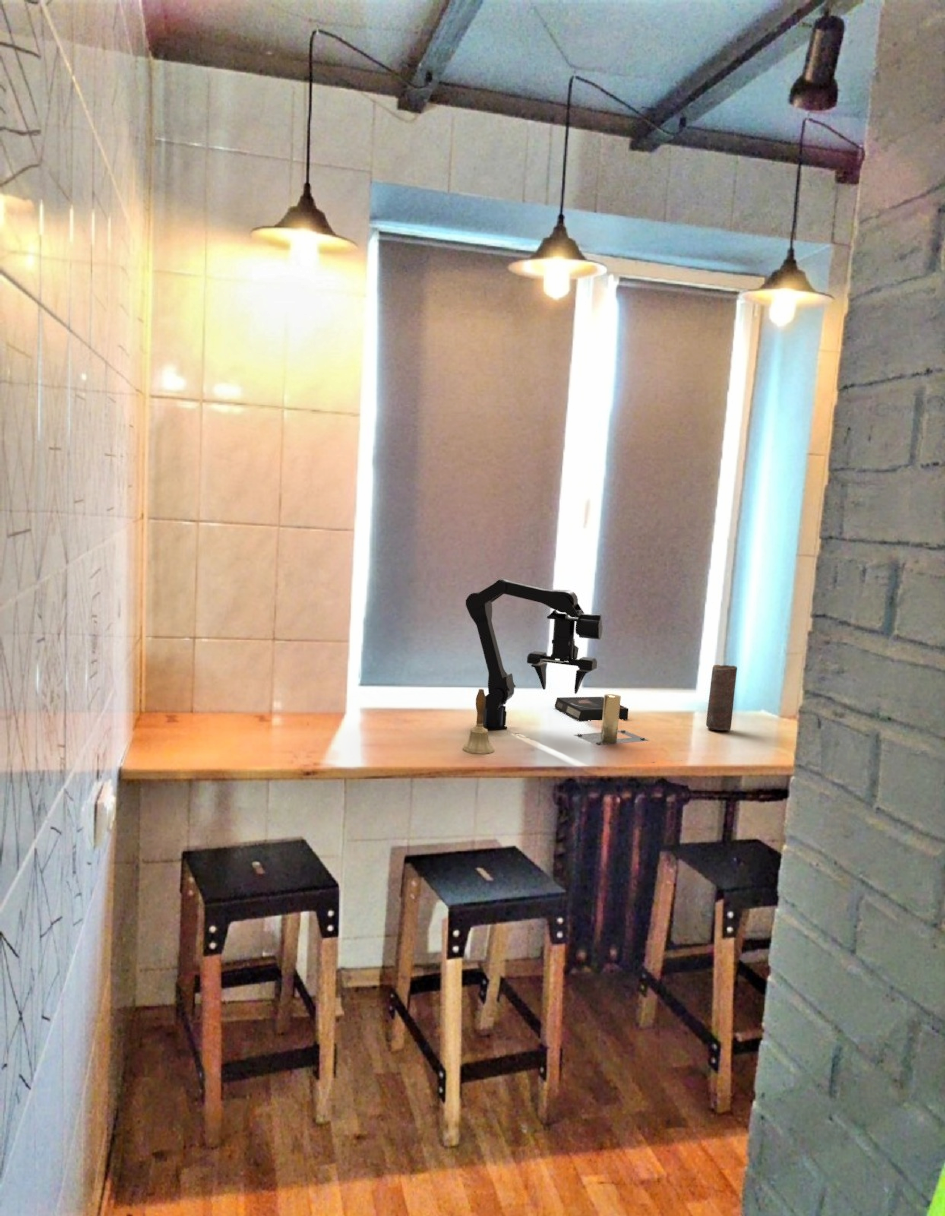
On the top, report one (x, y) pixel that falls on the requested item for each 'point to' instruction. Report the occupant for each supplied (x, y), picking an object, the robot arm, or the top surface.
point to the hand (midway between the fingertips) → (559, 691)
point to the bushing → (610, 718)
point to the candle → (721, 697)
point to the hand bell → (479, 730)
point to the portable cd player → (586, 708)
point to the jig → (596, 739)
